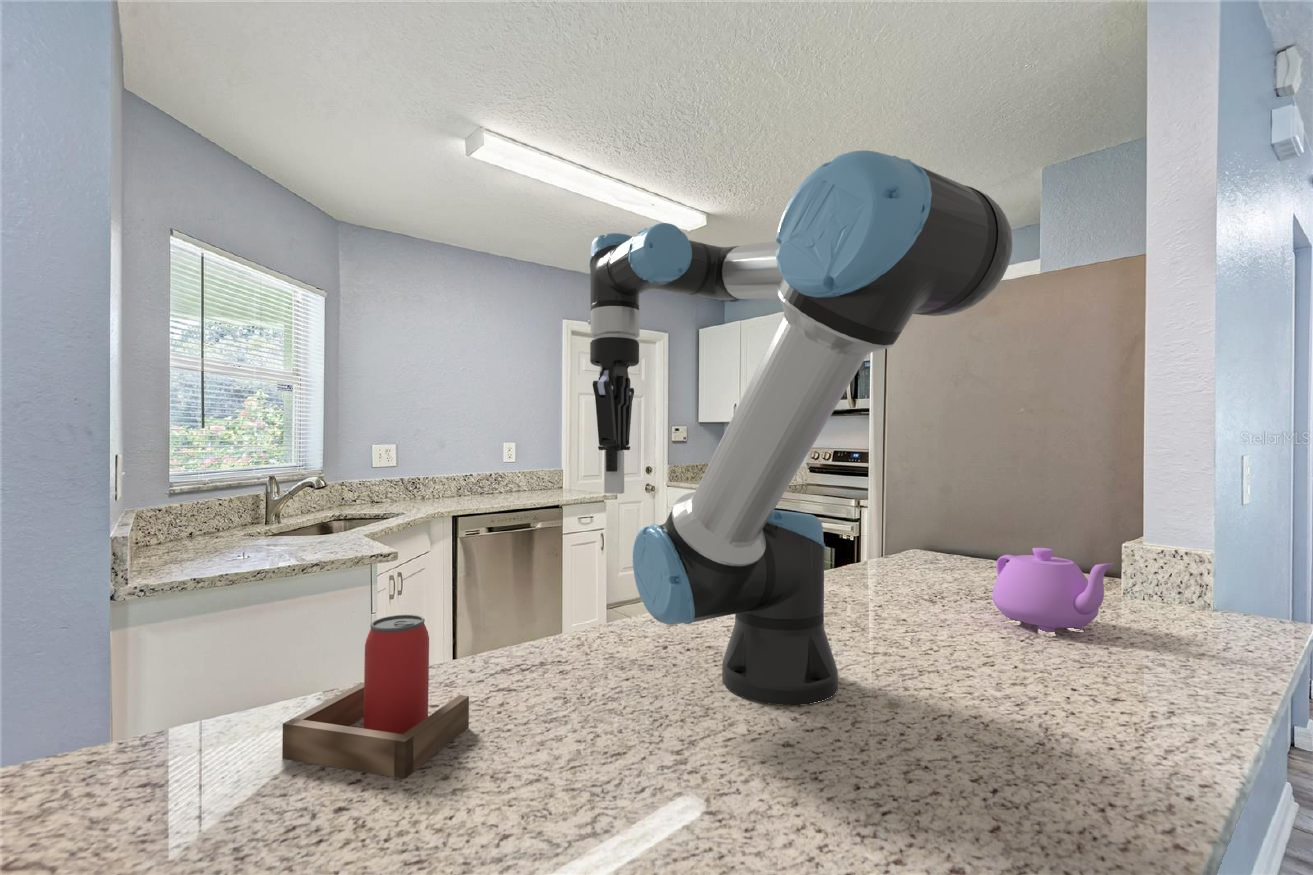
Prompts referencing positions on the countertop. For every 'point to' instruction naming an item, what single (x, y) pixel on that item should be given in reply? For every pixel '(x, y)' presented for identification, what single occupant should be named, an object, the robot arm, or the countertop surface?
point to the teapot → (1048, 590)
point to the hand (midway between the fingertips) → (614, 493)
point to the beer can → (396, 674)
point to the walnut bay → (369, 736)
